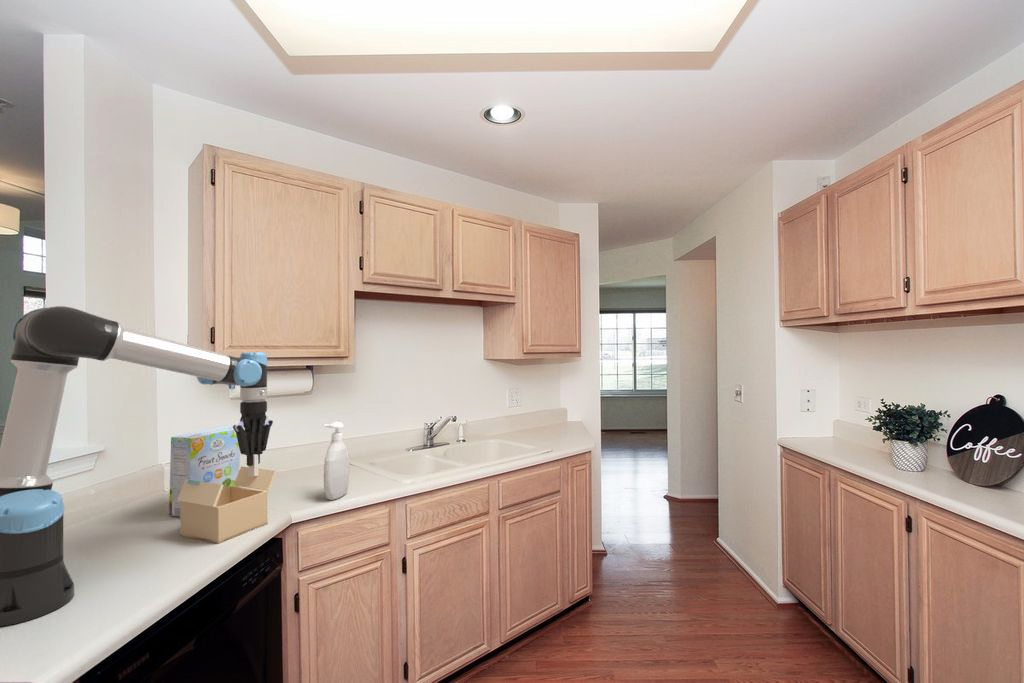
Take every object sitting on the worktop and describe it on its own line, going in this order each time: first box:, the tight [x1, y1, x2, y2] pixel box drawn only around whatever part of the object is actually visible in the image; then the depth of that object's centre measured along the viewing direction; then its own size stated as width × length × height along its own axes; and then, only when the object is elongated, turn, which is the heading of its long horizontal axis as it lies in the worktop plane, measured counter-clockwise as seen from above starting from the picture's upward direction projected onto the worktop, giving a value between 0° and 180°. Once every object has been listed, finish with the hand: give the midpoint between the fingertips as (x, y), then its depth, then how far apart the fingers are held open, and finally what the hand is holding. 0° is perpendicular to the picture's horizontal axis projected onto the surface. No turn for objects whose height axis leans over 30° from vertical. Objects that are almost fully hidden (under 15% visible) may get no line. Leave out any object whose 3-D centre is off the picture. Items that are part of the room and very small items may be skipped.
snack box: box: [168, 426, 241, 517], centre depth 167 cm, size 22×9×26 cm, turn 168°
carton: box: [179, 486, 268, 545], centre depth 146 cm, size 16×16×10 cm
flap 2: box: [234, 466, 278, 492], centre depth 155 cm, size 6×15×1 cm
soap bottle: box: [323, 421, 351, 501], centre depth 177 cm, size 14×8×27 cm, turn 170°
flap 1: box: [177, 479, 224, 507], centre depth 139 cm, size 6×15×1 cm
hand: (253, 475), depth 155 cm, fingers closed
